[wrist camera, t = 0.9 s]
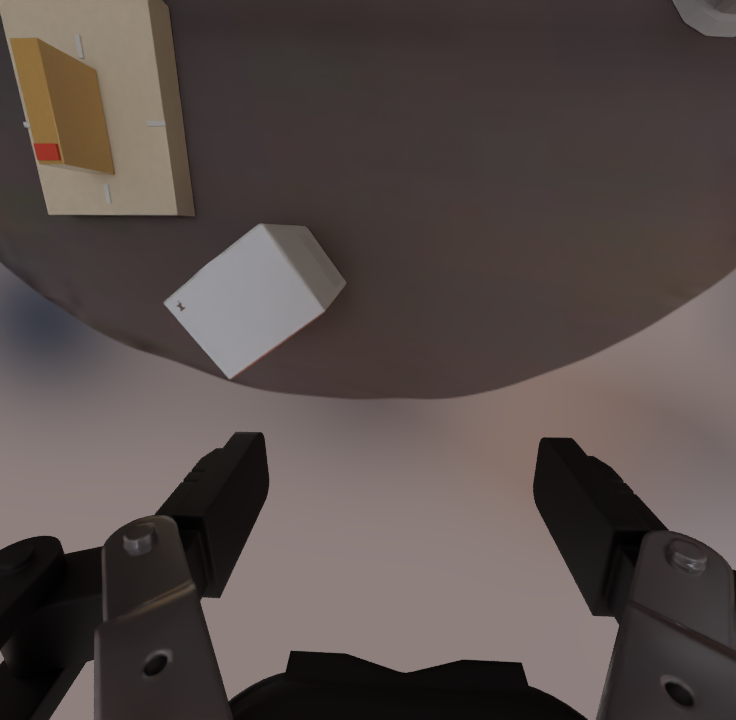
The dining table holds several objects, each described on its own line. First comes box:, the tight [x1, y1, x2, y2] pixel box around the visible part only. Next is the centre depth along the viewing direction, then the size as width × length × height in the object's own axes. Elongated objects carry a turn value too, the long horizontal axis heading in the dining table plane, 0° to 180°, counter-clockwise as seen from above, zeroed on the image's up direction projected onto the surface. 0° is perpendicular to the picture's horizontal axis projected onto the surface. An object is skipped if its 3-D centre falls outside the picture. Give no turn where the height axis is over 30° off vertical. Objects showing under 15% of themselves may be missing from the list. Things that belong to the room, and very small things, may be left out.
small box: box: [164, 223, 347, 379], centre depth 29 cm, size 8×6×13 cm
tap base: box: [0, 0, 195, 217], centre depth 31 cm, size 15×11×3 cm
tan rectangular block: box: [10, 38, 115, 175], centre depth 27 cm, size 7×2×5 cm, turn 0°
